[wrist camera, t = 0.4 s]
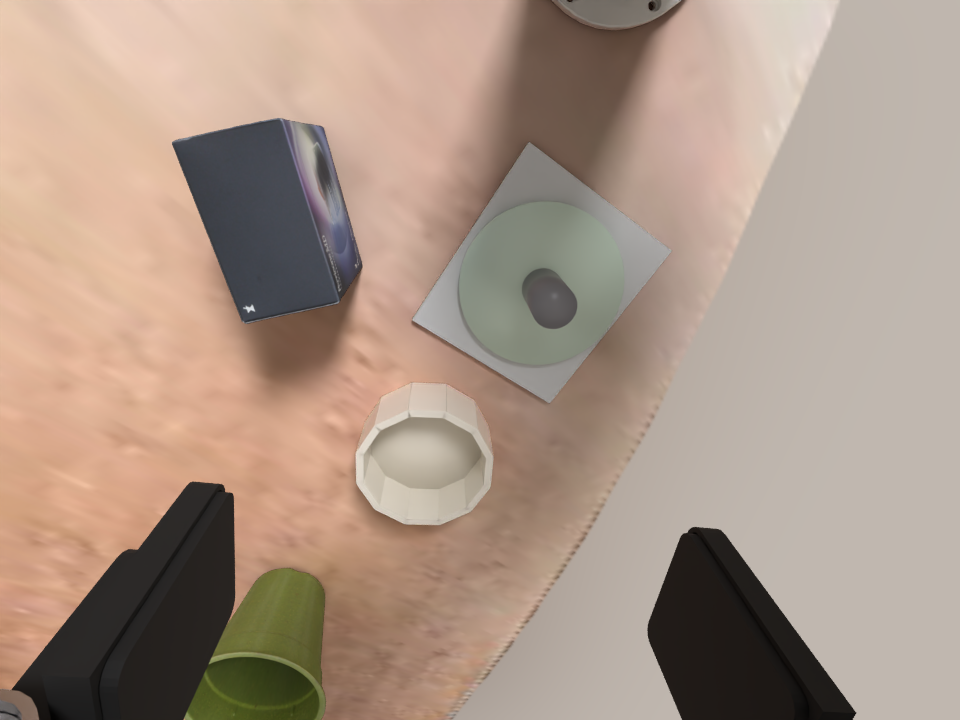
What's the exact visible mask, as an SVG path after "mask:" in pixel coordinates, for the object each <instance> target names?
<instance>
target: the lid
mask: <svg viewBox="0 0 960 720" xmlns="http://www.w3.org/2000/svg"><path fill="white" fill-rule="evenodd" d="M623 290H624V267H623V261H622V258H621V254H620V251H619V249H618V247H617V244H616V242H615V240H614V239H613V237H612V236H611V234H610V233H609V232H608V230H607V229H606V228H605V227H604V226H603V225H602V224H601V223H600V222H599V221H598V220H597V219H595V218H594V217H593V216H591V215H590V214H588V213H587V212H585V211H583V210H581V209H579V208H576V207H574V206H572V205H568V204H565V203H560V202H553V201H537V202H529V203H525V204H522V205H518V206H515V207H513V208H511V209H508V210H506V211H504V212H503V213H501V214H499V215H498V216H496V217H495V218H494V219H492V220H491V221H490V222H488V223H487V224H486V225H485V226H484V227H483V228H482V229H481V230H480V231H479V233H478V234H477V235H476V237H475V238H474V239H473V241H472V243H471V244H470V246H469V248H468V250H467V252H466V254H465V257H464V259H463V262H462V266H461V270H460V277H459V296H460V303H461V307H462V311H463V314H464V317H465V319H466V321H467V324H468V325H469V327H470V329H471V330H472V332H473V333H474V335H475V336H476V337H477V338H478V340H479V341H480V342H481V343H482V344H484V345H485V346H486V347H487V348H488V349H490V350H491V351H492V352H494V353H495V354H497V355H499V356H501V357H503V358H505V359H508V360H511V361H513V362H518V363H522V364H530V365H544V364H552V363H556V362H560V361H564V360H566V359H569V358H571V357H574V356H575V355H577V354H579V353H581V352H583V351H584V350H586V349H587V348H589V347H590V346H591V345H592V344H594V343H595V342H596V341H597V340H598V339H599V338H600V337H601V336H602V335H603V334H604V333H605V331H606V330H607V329H608V327H609V326H610V324H611V323H612V321H613V319H614V317H615V316H616V314H617V311H618V309H619V306H620V304H621V300H622V296H623Z"/></svg>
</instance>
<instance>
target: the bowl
mask: <svg viewBox="0 0 960 720" xmlns="http://www.w3.org/2000/svg"><path fill="white" fill-rule="evenodd" d="M493 458H494V457H493V450H492V444H491V437H490V430H489V425H488V424H487V422H486V420H485V418H484V416H483V414H482V413H481V411H480V409H479V407H478V405H477V404H476V402H475V401H474V400H473V399H472V398H470V397H468V396H467V395H465V394H463V393H461V392H460V391H458V390H456V389H454V388H453V387H451V386H449V385H448V384H440V383H416V382H412V383H409V384H407V385H405V386H403V387H401V388H399V389H397V390H395V391H392V392H390V393H388V394H386V395H384V396H382V397H381V398H380V400H379V401H378V403H377V404H376V406H375V407H374V409H373V410H372V412H371V413H370V415H369V416H368V418H367V419H366V421H365V423H364V427H363V430H362V433H361V437H360V440H359V444H358V447H357V450H356V484H357V486H358V487H359V488H360V490H361V491H362V493H363V494H364V495H365V497H366V498H367V500H368V501H369V502H370V504H371V505H372V507H373V508H374V509H375V510H376V511H378V512H380V513H382V514H385V515H387V516H389V517H391V518H393V519H395V520H397V521H399V522H401V523H403V524H407V525H441V524H444V523H446V522H448V521H451V520H453V519H455V518H458V517H460V516H462V515H465V514H467V513H469V512H471V511H472V510H473V509H474V507H475V506H476V505H477V504H478V502H479V501H480V500H481V499H482V497H483V496H484V495H485V494H486V492H487V491H488V490H489V489H490V487H491V478H492V468H493Z"/></svg>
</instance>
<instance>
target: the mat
mask: <svg viewBox="0 0 960 720" xmlns="http://www.w3.org/2000/svg"><path fill="white" fill-rule="evenodd" d="M537 201H553V202H560V203H565V204H568V205H572V206H574V207H576V208H579V209H581V210H583V211H585V212H587V213H588V214H590V215H591V216H593V217H594V218H595V219H597V220H598V221H599V222H600V223H601V224H602V225H603V226H604V227H605V228H606V229H607V230H608V232H609V233H610V234H611V236H612V237H613V239H614V240H615V242H616V244H617V247H618V249H619V251H620V254H621V258H622V261H623V267H624V290H623V296H622V300H621V304H620V306H619V309H618V311H617V314H616V316H615V317H614V319H613V321H612V323H611V324H610V326H609V327H608V329H607V330H606V331H605V333H604V334H603V335H602V336H601V337H600V338H599V339H598V340H597V341H596V342H595V343H594V344H592V345H591V346H590V347H589V348H587V349H586V350H584V351H583V352H581V353H579V354H577V355H575V356H574V357H571V358H569V359H566V360H564V361H560V362H556V363H552V364H544V365H530V364H522V363H518V362H513V361H511V360H508V359H505V358H503V357H501V356H499V355H497V354H495V353H494V352H492V351H491V350H490V349H488V348H487V347H486V346H485V345H484V344H482V343H481V342H480V341H479V340H478V338H477V337H476V336H475V335H474V333H473V332H472V330H471V329H470V327H469V325H468V324H467V321H466V319H465V317H464V314H463V311H462V307H461V303H460V296H459V277H460V270H461V266H462V262H463V259H464V257H465V254H466V252H467V250H468V248H469V246H470V244H471V243H472V241H473V239H474V238H475V237H476V235H477V234H478V233H479V231H480V230H481V229H482V228H483V227H484V226H485V225H486V224H487V223H488V222H490V221H491V220H492V219H494V218H495V217H496V216H498V215H499V214H501V213H503V212H504V211H506V210H508V209H511V208H513V207H515V206H518V205H522V204H525V203H529V202H537ZM671 252H672V251H671V250H670V249H669V248H667V247H666V246H665V245H664V244H662V243H661V242H660V241H658V240H657V239H656V238H654V237H653V236H652V235H650V234H649V233H648V232H647V231H645V230H644V229H643V228H641V227H640V226H639V225H637V224H636V223H635V222H633V221H632V220H631V219H630V218H628V217H627V216H626V215H624V214H623V213H622V212H620V211H619V210H618V209H616V208H615V207H614V206H613V205H611V204H610V203H609V202H607V201H606V200H605V199H603V198H602V197H601V196H599V195H598V194H597V193H596V192H594V191H593V190H592V189H590V188H589V187H588V186H586V185H585V184H584V183H582V182H581V181H580V180H579V179H577V178H576V177H575V176H573V175H572V174H571V173H569V172H568V171H567V170H565V169H564V168H563V167H562V166H560V165H559V164H558V163H556V162H555V161H554V160H552V159H551V158H550V157H548V156H547V155H546V154H545V153H543V152H542V151H541V150H539V149H538V148H537V147H535V146H534V145H533V144H531V143H530V142H528V144H527V145H526V147H525V148H524V150H523V151H522V153H521V154H520V156H519V157H518V159H517V160H516V162H515V163H514V165H513V166H512V168H511V169H510V171H509V172H508V174H507V175H506V177H505V178H504V180H503V181H502V183H501V185H500V186H499V188H498V189H497V191H496V192H495V194H494V195H493V197H492V198H491V200H490V201H489V203H488V204H487V206H486V207H485V209H484V210H483V212H482V213H481V215H480V216H479V218H478V219H477V221H476V223H475V224H474V226H473V227H472V229H471V230H470V232H469V233H468V235H467V236H466V238H465V239H464V241H463V242H462V244H461V245H460V247H459V248H458V250H457V251H456V253H455V254H454V256H453V257H452V259H451V260H450V262H449V264H448V265H447V267H446V268H445V270H444V271H443V273H442V274H441V276H440V277H439V279H438V280H437V282H436V283H435V285H434V286H433V288H432V289H431V291H430V292H429V294H428V295H427V297H426V298H425V300H424V301H423V303H422V305H421V306H420V308H419V309H418V311H417V312H416V314H415V315H414V317H413V319H412V320H413V321H414V322H416V323H418V324H419V325H421V326H423V327H424V328H426V329H427V330H429V331H431V332H432V333H434V334H436V335H437V336H439V337H441V338H442V339H444V340H446V341H447V342H449V343H451V344H452V345H454V346H455V347H457V348H459V349H460V350H462V351H464V352H465V353H467V354H469V355H470V356H472V357H474V358H475V359H477V360H479V361H480V362H482V363H483V364H485V365H487V366H488V367H490V368H492V369H493V370H495V371H497V372H498V373H500V374H502V375H503V376H505V377H507V378H508V379H510V380H512V381H513V382H515V383H516V384H518V385H520V386H521V387H523V388H525V389H526V390H528V391H530V392H531V393H533V394H535V395H536V396H538V397H540V398H541V399H543V400H544V401H546V402H548V403H549V404H550V402H551V401H552V400H553V399H554V397H555V396H556V395H557V394H558V392H559V391H560V390H561V389H562V387H563V386H564V385H565V384H566V383H567V381H568V380H569V379H570V378H571V376H572V375H573V374H574V373H575V371H576V370H577V369H578V368H579V366H580V365H581V364H582V363H583V361H584V360H585V359H586V358H587V356H588V355H589V354H590V353H591V351H592V350H593V349H594V348H595V346H596V345H597V344H598V343H599V341H600V340H601V339H602V338H603V336H604V335H605V334H606V333H607V331H608V330H609V329H610V328H611V326H612V325H613V324H614V323H615V321H616V320H617V319H618V318H619V316H620V315H621V314H622V313H623V311H624V310H625V309H626V308H627V306H628V305H629V304H630V303H631V301H632V300H633V299H634V298H635V296H636V295H637V294H638V293H639V291H640V290H641V289H642V288H643V286H644V285H645V284H646V283H647V281H648V280H649V279H650V278H651V276H652V275H653V274H654V273H655V271H656V270H657V269H658V268H659V266H660V265H661V264H662V263H663V261H664V260H665V259H666V258H667V256H668V255H669V254H670V253H671Z"/></svg>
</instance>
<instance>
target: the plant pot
mask: <svg viewBox="0 0 960 720" xmlns="http://www.w3.org/2000/svg"><path fill="white" fill-rule="evenodd" d="M324 607H325V593H324V589H323V587H322V585H321V584H320V583H319V581H318V580H317V579H315V578H314V577H313V576H312V575H310V574H308V573H301V572H298V571H295V570H293V569H291V568H284V569H275V570H272V571H269V572H267V573H265V574H263V575H262V576H261V577H259V578H258V579H257V580H256V582H255V583H254V585H253V586H252V587H251V589H250V590H249V592H248V594H247V595H246V597H245V598H244V600H243V601H242V603H241V604H240V606H239V607H238V609H237V610H236V612H235V613H234V615H233V617H232V618H231V620H230V621H229V623H228V624H227V626H226V627H225V629H224V632H223V634H222V636H221V638H220V640H219V643H218V645H217V647H216V649H215V651H214V654H213V656H212V658H211V660H210V662H209V664H208V667H207V669H206V671H205V673H204V675H203V678H202V680H201V682H200V684H199V686H198V689H197V691H196V693H195V695H194V697H193V700H192V702H191V704H190V706H189V708H188V711H187V713H186V715H185V717H184V718H185V720H321V719H322V717H323V715H324V712H325V707H326V699H325V694H324V691H323V688H322V686H321V684H322V671H321V666H320V664H321V649H322V635H323V621H324Z"/></svg>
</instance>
